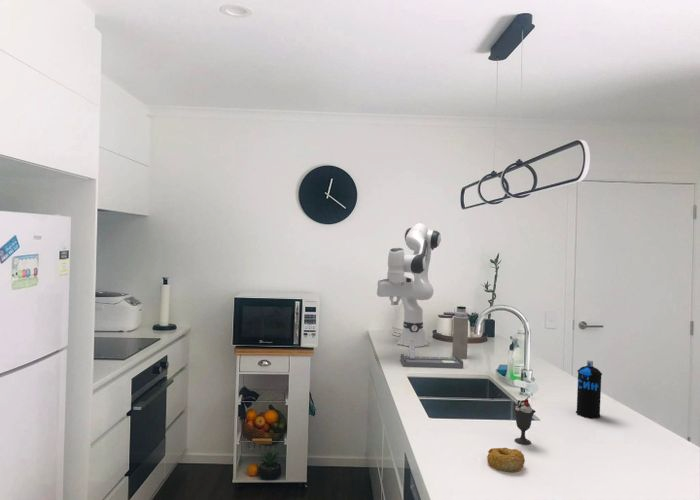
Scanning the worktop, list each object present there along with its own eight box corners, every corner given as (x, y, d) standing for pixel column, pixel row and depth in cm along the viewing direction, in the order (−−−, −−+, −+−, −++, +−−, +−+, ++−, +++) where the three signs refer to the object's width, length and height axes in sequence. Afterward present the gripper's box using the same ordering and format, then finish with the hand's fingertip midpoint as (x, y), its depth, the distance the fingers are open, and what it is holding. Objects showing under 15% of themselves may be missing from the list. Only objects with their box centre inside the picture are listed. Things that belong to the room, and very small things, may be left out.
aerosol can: (580, 409, 183) (582, 357, 183) (603, 415, 177) (605, 361, 177) (572, 414, 177) (574, 360, 177) (596, 420, 172) (598, 364, 171)
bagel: (515, 456, 139) (515, 440, 139) (530, 475, 128) (531, 457, 128) (481, 456, 139) (481, 440, 139) (494, 475, 128) (494, 457, 128)
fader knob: (409, 357, 248) (409, 339, 248) (413, 357, 248) (414, 339, 248) (409, 358, 245) (410, 340, 245) (414, 358, 245) (415, 340, 245)
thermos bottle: (451, 355, 270) (453, 305, 269) (465, 356, 269) (467, 306, 269) (453, 358, 262) (454, 307, 261) (468, 359, 261) (469, 307, 261)
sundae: (532, 448, 146) (533, 398, 145) (509, 442, 149) (511, 394, 149) (536, 440, 151) (538, 393, 151) (514, 435, 155) (516, 389, 155)
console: (400, 360, 253) (400, 353, 253) (457, 362, 253) (457, 355, 253) (403, 366, 240) (403, 359, 240) (463, 368, 240) (463, 361, 240)
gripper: (380, 279, 246) (379, 306, 246) (415, 279, 254) (414, 305, 254) (375, 278, 252) (374, 304, 252) (409, 278, 260) (408, 304, 260)
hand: (394, 305), depth 253 cm, fingers closed
